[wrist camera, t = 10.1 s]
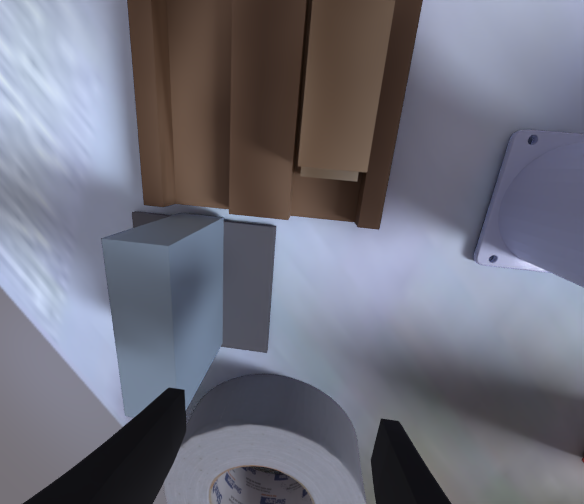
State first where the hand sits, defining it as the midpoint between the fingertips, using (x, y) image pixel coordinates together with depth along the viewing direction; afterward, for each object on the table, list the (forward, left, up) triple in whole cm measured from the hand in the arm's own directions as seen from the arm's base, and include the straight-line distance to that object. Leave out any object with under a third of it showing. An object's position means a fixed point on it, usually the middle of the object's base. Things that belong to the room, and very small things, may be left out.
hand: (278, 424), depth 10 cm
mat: (+7, 0, -10) cm, 13 cm away
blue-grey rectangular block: (+7, 0, -10) cm, 12 cm away
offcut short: (-1, -12, -7) cm, 14 cm away
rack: (+3, -13, -10) cm, 17 cm away
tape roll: (+1, +15, -11) cm, 19 cm away
